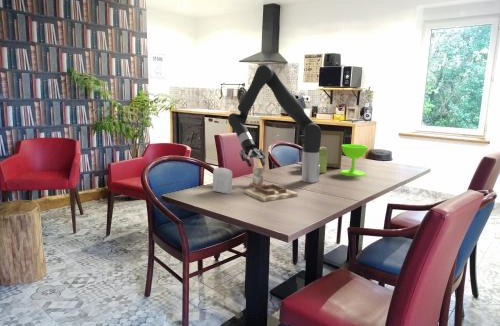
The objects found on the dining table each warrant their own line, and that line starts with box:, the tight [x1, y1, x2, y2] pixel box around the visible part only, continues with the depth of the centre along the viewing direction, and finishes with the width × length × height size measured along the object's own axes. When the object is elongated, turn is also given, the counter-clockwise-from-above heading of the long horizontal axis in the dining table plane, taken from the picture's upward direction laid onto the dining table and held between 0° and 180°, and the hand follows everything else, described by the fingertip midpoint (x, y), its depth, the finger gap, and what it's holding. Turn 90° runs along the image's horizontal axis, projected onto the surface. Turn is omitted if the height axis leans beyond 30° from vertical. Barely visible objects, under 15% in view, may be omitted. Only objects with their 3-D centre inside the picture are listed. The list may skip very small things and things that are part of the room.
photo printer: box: [212, 167, 233, 195], centre depth 185 cm, size 10×4×12 cm, turn 60°
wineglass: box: [339, 143, 369, 178], centre depth 235 cm, size 16×16×18 cm
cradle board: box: [243, 184, 299, 203], centre depth 183 cm, size 20×18×3 cm
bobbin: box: [249, 165, 266, 188], centre depth 201 cm, size 6×6×10 cm
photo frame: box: [320, 130, 344, 169], centre depth 259 cm, size 15×22×25 cm
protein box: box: [300, 146, 328, 174], centre depth 241 cm, size 10×15×16 cm
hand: (257, 165), depth 200 cm, fingers open, 8 cm apart
